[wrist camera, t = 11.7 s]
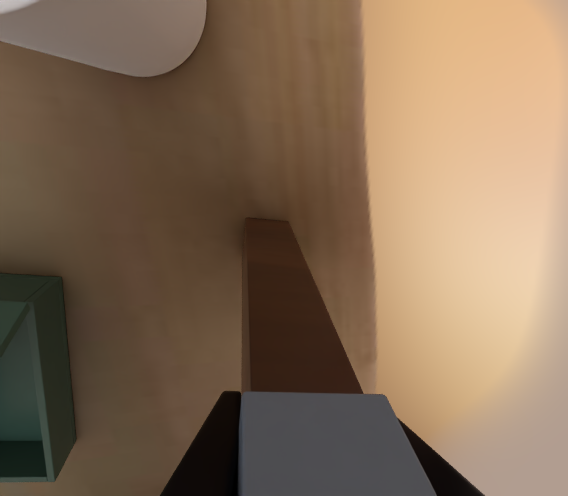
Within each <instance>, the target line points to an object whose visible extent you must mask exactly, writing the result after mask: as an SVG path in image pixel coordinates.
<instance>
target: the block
mask: <svg viewBox="0 0 568 496" xmlns="http://www.w3.org/2000/svg"><path fill="white" fill-rule="evenodd" d="M234 496H437V495H436V493H435V491H434V489H433V487H432V485H431V483H430V481H429V479H428V477H427V475H426V473H425V472H424V470H423V468H422V466H421V464H420V462H419V460H418V458H417V456H416V454H415V452H414V450H413V448H412V446H411V444H410V442H409V440H408V438H407V436H406V434H405V432H404V431H403V429H402V427H401V425H400V423H399V421H398V419H397V417H396V415H395V413H394V411H393V409H392V407H391V405H390V403H389V401H388V399H387V397H386V396H385V395H383V394H344V393H297V392H250V391H246V392H244V393H243V395H242V399H241V409H240V419H239V450H238V462H237V472H236V481H235V490H234Z"/></svg>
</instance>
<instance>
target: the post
mask: <svg viewBox="0 0 568 496" xmlns="http://www.w3.org/2000/svg"><path fill="white" fill-rule="evenodd" d="M246 391H250V392H297V393H344V394H363V391H362V389H361V387H360V384H359V382H358V380H357V378H356V375H355V373H354V371H353V368H352V366H351V364H350V362H349V359H348V357H347V355H346V352H345V350H344V348H343V345H342V343H341V341H340V339H339V336H338V334H337V332H336V329H335V327H334V325H333V323H332V320H331V318H330V316H329V313H328V311H327V309H326V306H325V304H324V302H323V300H322V297H321V295H320V293H319V290H318V288H317V286H316V283H315V281H314V279H313V277H312V274H311V272H310V270H309V267H308V265H307V263H306V261H305V258H304V256H303V254H302V251H301V249H300V247H299V244H298V242H297V240H296V238H295V235H294V233H293V231H292V228H291V226H290V224H289V222H288V221H277V220H266V219H255V218H246V221H245V232H244V243H243V254H242V388H241V399H242V395H243V393H244V392H246Z"/></svg>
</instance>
